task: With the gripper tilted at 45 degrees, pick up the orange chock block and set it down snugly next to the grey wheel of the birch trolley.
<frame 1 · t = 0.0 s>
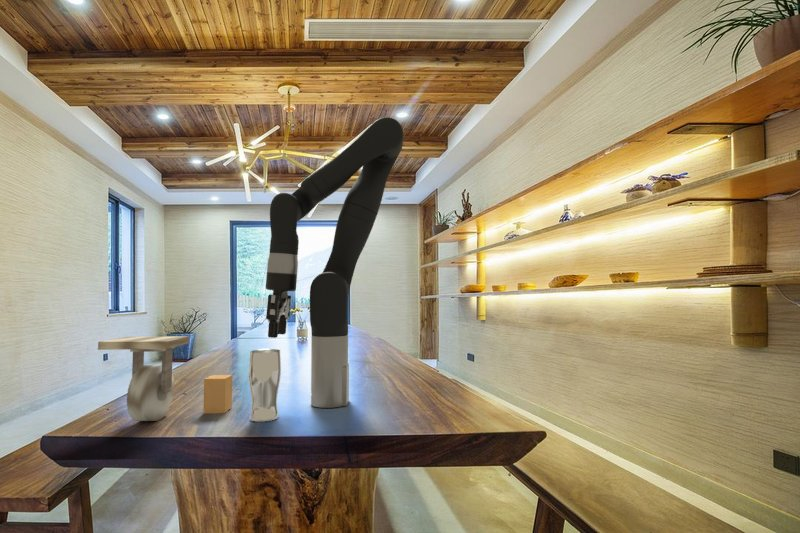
hand: (277, 335, 111), 17 cm above the table, tool pointing down, fingers open, 8 cm apart
beer glass: (264, 419, 98), on the table
chock: (217, 410, 105), on the table
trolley: (151, 419, 97), on the table
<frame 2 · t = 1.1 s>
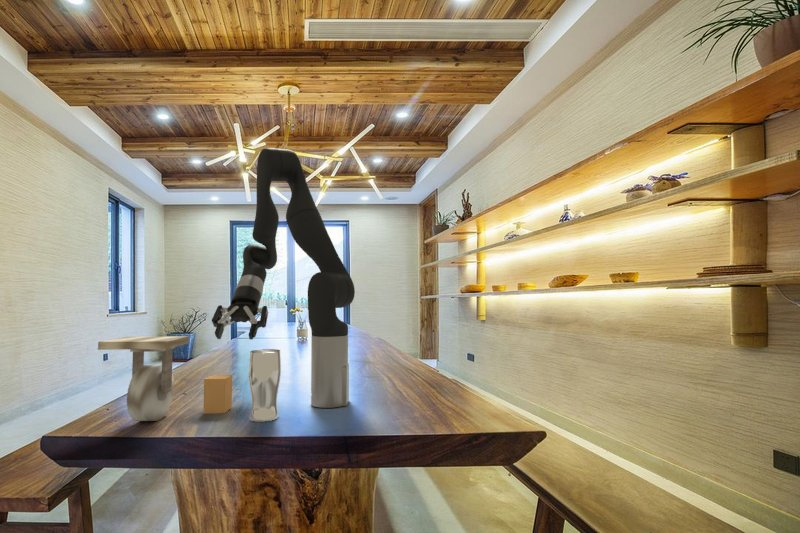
hand: (234, 337, 117), 16 cm above the table, tool tilted 45°, fingers open, 8 cm apart
nothing on the table moved.
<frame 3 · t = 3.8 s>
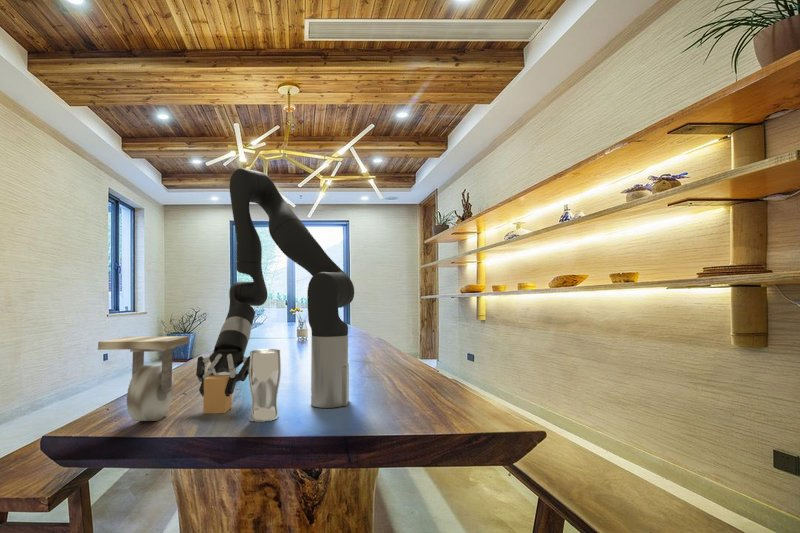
hand: (215, 394, 103), 4 cm above the table, tool tilted 45°, fingers closed on chock, 5 cm apart
chock: (217, 410, 105), on the table, touching gripper
everything else where it was.
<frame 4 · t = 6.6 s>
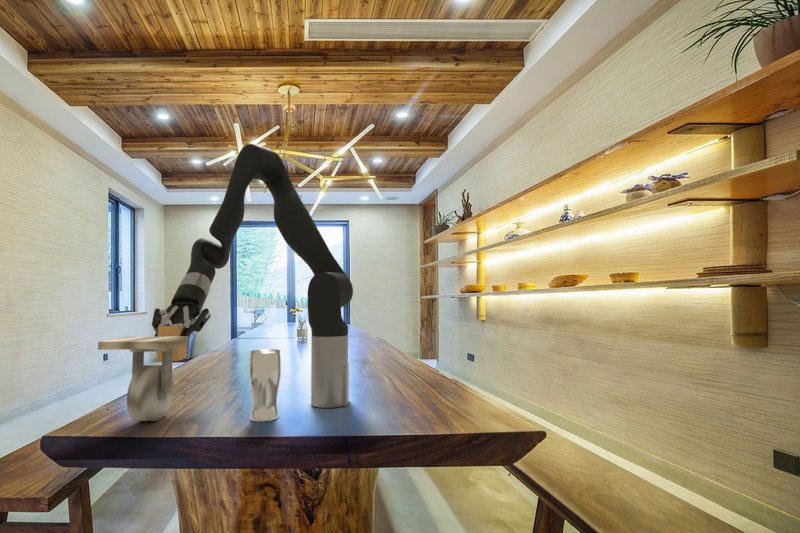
hand: (169, 342, 105), 16 cm above the table, tool tilted 45°, fingers closed on chock, 5 cm apart
chock: (172, 359, 107), point 12 cm above the table, touching gripper
everything else where it was.
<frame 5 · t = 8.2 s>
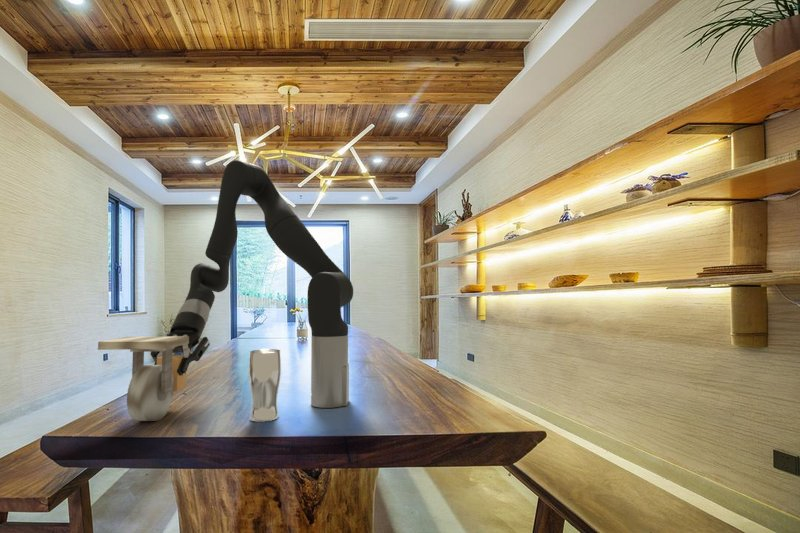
hand: (167, 373, 105), 9 cm above the table, tool tilted 45°, fingers closed on chock, 5 cm apart
chock: (171, 389, 107), point 5 cm above the table, touching gripper
everything else where it was.
when the fingers open (6 cm above the table, at t = 9.5 s): chock drops 1 cm, on the table.
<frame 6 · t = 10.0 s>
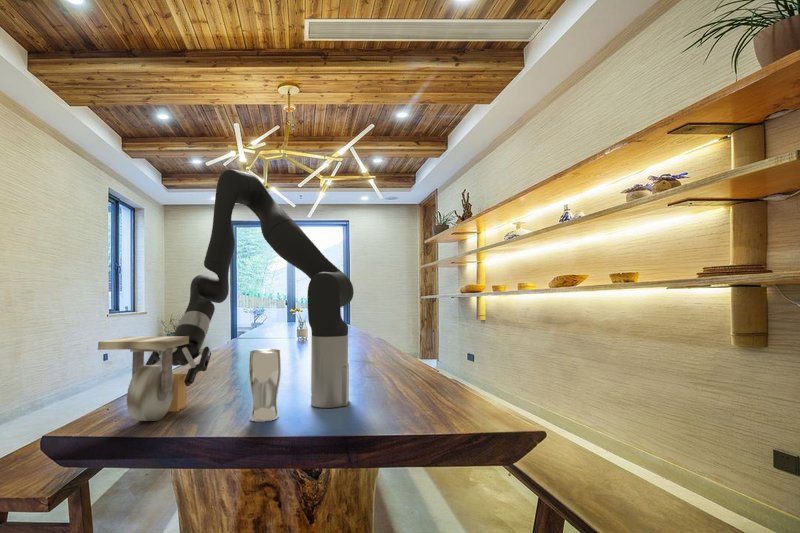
hand: (169, 384, 105), 6 cm above the table, tool tilted 45°, fingers open, 8 cm apart
chock: (171, 408, 106), on the table
everything else where it was.
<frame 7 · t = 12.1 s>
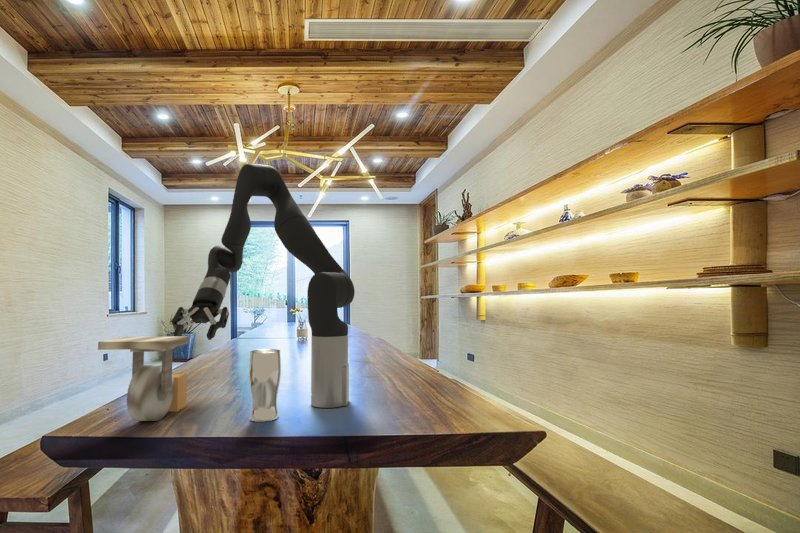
hand: (192, 338, 118), 16 cm above the table, tool tilted 45°, fingers open, 8 cm apart
nothing on the table moved.
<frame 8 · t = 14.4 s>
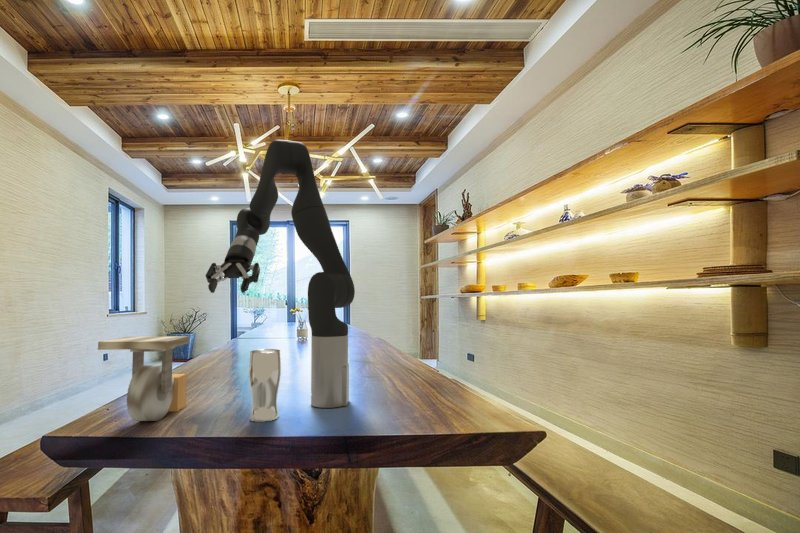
hand: (227, 290, 122), 29 cm above the table, tool tilted 45°, fingers open, 8 cm apart
nothing on the table moved.
at the end: chock 0.0 cm from the target spot, on the table; chock tilted 0°; the gripper is holding nothing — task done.
